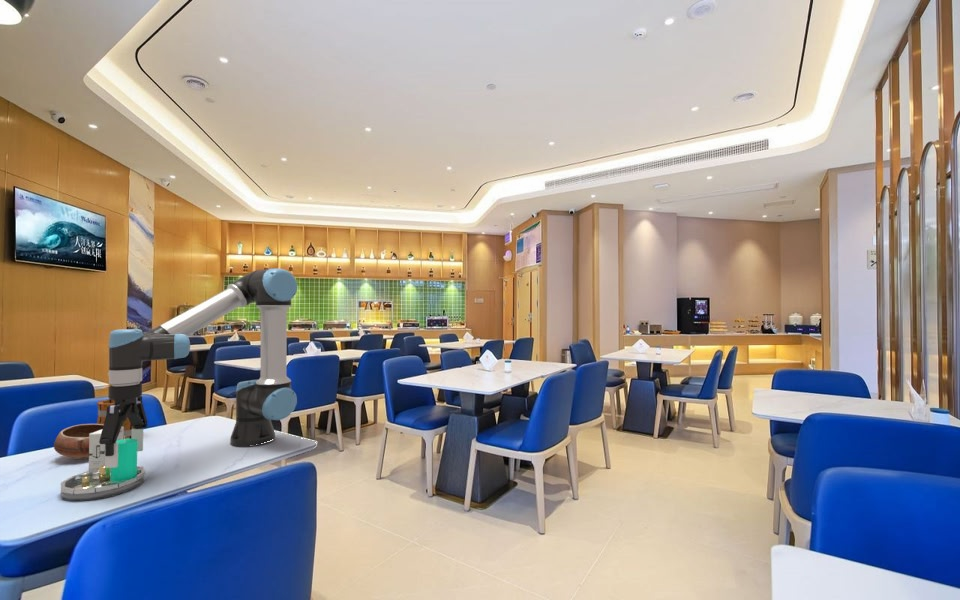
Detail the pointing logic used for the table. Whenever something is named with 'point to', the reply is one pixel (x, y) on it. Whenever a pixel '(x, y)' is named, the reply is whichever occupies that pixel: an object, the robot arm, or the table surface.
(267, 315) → the robot arm
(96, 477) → the carrier
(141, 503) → the table surface
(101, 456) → the ink box
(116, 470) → the candle
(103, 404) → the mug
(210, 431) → the table surface
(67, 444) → the bowl
